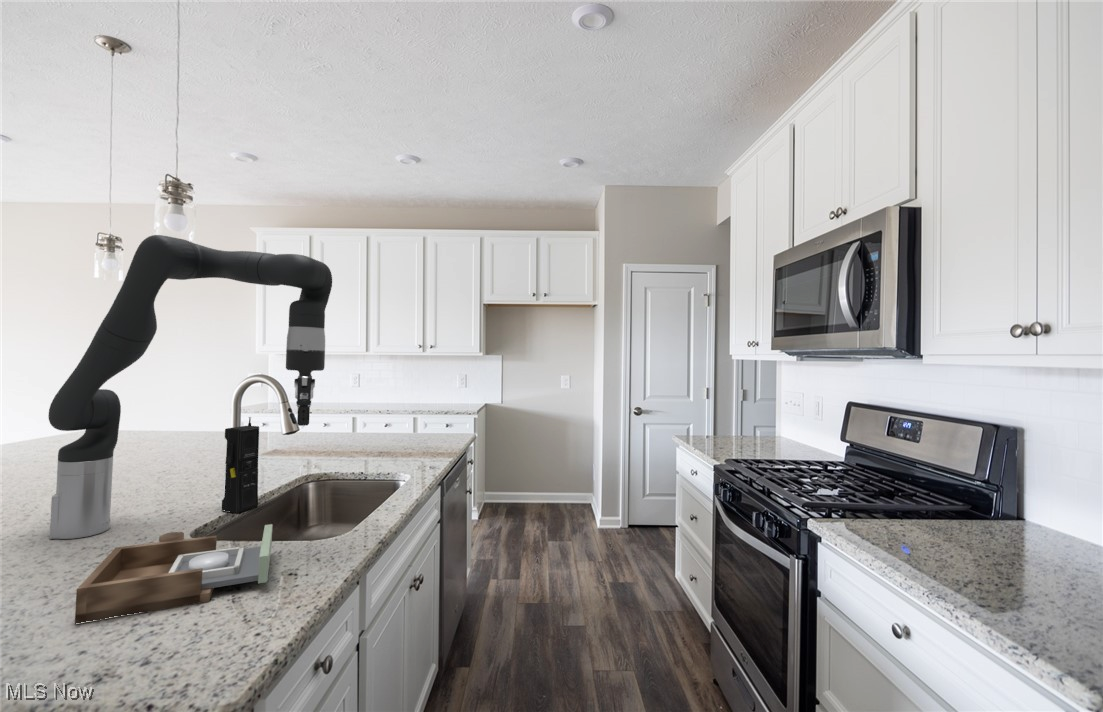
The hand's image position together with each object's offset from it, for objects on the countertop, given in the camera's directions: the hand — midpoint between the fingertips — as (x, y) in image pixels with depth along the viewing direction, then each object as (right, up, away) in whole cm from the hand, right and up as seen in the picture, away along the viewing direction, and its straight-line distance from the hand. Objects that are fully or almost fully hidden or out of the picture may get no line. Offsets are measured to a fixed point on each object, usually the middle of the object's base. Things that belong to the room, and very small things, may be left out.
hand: (303, 422), depth 102 cm
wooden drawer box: (-17, -28, -18) cm, 37 cm away
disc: (-10, -25, -14) cm, 31 cm away
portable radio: (-32, -28, +26) cm, 50 cm away
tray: (-9, -26, -13) cm, 31 cm away
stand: (-24, -27, -6) cm, 37 cm away
